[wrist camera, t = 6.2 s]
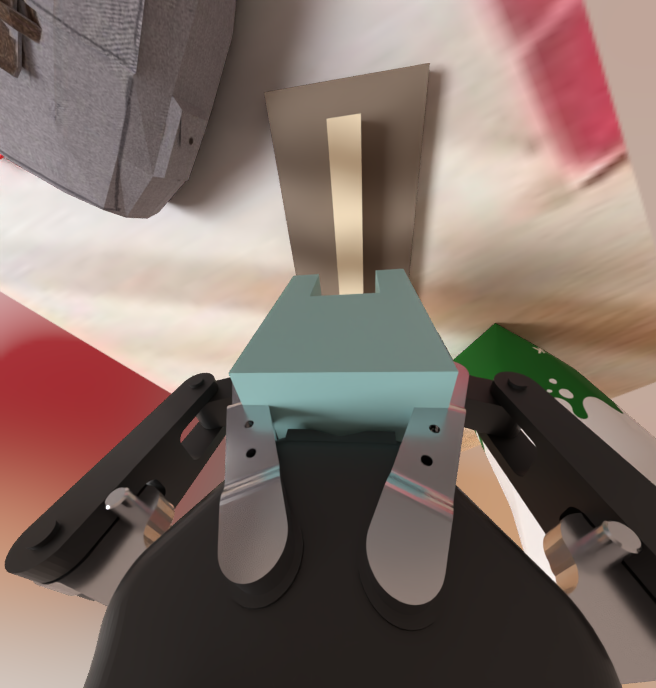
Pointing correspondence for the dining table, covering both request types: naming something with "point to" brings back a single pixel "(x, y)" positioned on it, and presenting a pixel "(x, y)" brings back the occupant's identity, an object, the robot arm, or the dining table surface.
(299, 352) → the saddle block
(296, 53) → the dining table surface
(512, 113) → the dining table surface
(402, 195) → the cleat board
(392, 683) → the robot arm
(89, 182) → the soft grey pack
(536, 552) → the milk carton
